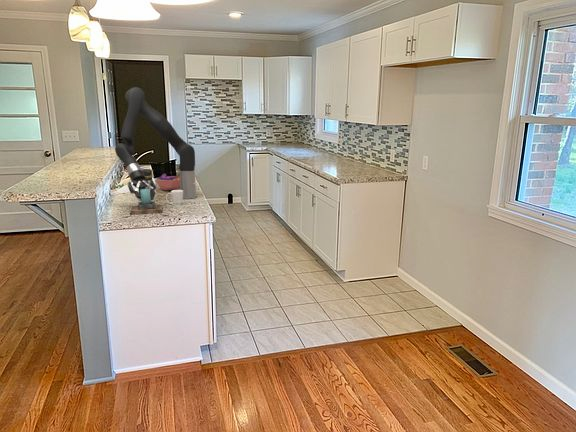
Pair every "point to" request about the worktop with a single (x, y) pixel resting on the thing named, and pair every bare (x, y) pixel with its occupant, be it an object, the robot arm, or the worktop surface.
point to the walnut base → (146, 208)
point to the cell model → (168, 182)
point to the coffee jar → (148, 176)
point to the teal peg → (145, 196)
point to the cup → (176, 197)
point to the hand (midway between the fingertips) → (147, 196)
